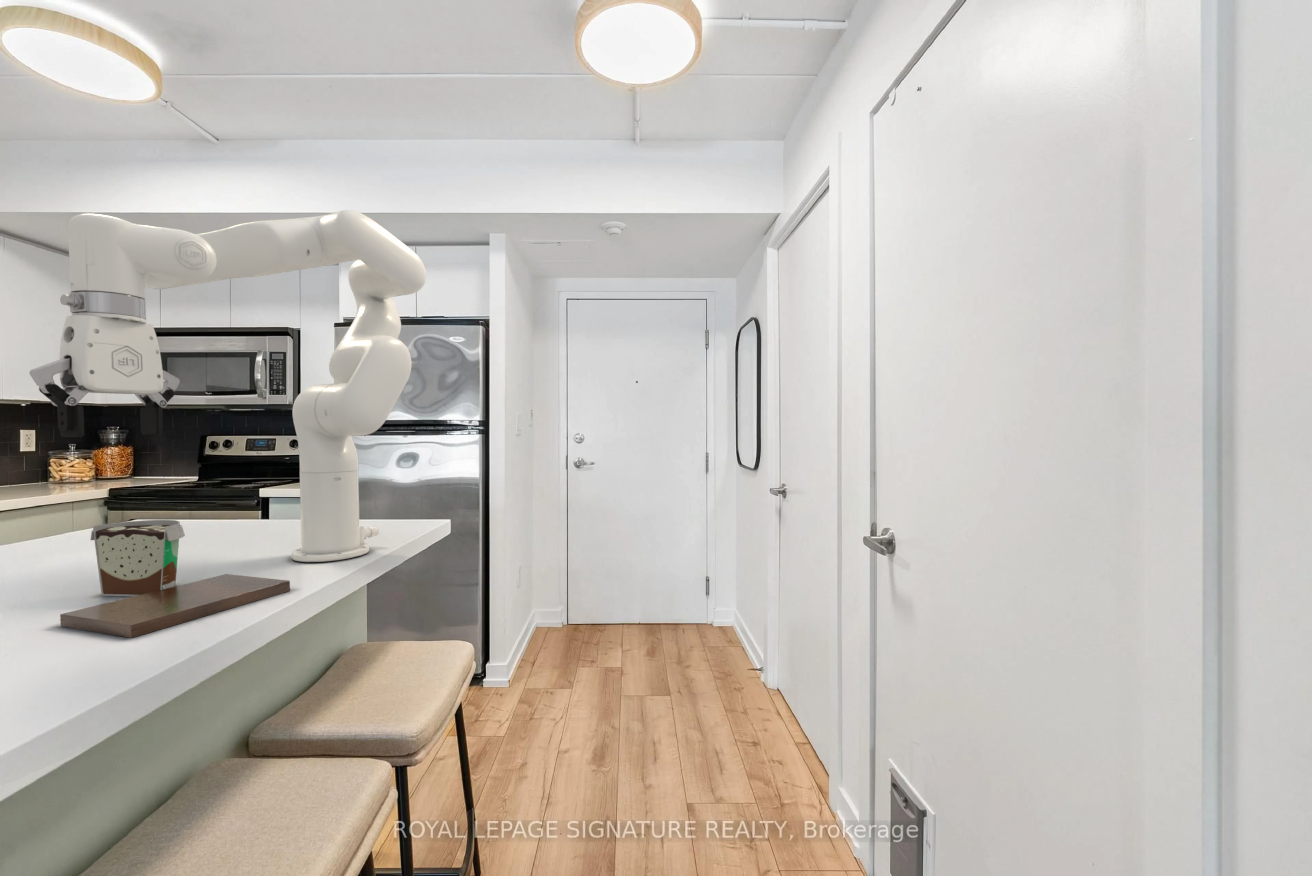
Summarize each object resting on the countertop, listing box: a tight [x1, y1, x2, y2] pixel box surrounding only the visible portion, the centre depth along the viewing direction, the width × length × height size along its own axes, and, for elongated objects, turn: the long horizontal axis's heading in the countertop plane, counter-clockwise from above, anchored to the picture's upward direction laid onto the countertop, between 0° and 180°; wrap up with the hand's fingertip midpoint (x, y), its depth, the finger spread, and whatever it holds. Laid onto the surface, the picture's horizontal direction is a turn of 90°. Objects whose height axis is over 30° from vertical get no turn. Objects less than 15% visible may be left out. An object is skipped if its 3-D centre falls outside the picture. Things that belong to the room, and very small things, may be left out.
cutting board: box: [59, 573, 291, 638], centre depth 79 cm, size 20×13×2 cm, turn 161°
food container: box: [90, 519, 185, 597], centre depth 87 cm, size 12×6×10 cm, turn 84°
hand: (114, 435), depth 82 cm, fingers open, 9 cm apart
